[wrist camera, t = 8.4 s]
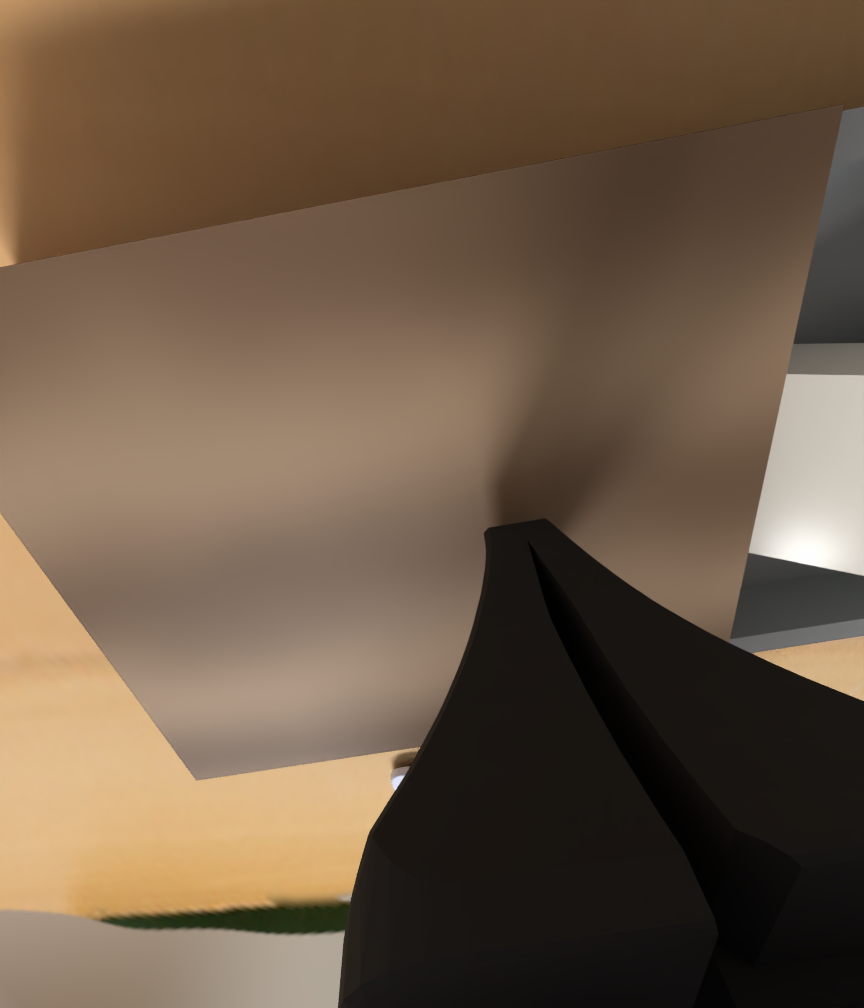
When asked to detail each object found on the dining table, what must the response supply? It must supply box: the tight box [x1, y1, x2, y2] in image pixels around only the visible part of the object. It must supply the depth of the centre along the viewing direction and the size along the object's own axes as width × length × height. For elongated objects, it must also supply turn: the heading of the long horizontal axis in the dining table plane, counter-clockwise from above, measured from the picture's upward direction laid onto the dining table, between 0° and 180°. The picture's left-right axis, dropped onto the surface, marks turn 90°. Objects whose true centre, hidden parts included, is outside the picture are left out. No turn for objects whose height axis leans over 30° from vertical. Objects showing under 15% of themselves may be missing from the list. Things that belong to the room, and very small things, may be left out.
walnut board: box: [0, 104, 844, 781], centre depth 13 cm, size 14×16×4 cm
